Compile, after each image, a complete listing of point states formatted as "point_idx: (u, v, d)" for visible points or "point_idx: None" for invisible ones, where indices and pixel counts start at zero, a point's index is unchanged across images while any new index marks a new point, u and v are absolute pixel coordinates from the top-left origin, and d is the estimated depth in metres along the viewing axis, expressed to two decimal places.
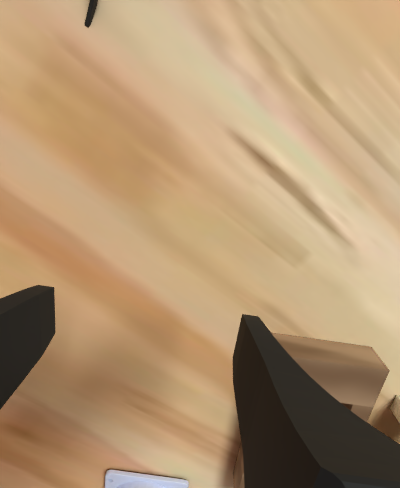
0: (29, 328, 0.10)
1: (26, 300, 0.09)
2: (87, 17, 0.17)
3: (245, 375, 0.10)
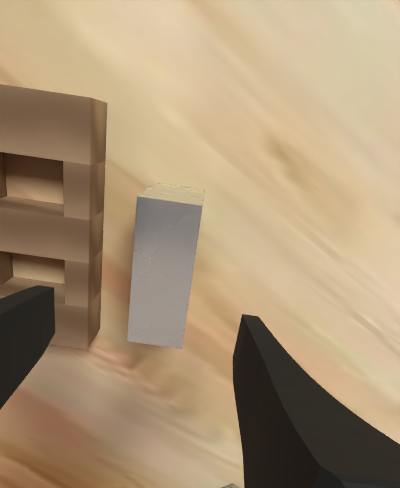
0: (29, 328, 0.10)
1: (26, 300, 0.09)
2: None
3: (244, 375, 0.10)
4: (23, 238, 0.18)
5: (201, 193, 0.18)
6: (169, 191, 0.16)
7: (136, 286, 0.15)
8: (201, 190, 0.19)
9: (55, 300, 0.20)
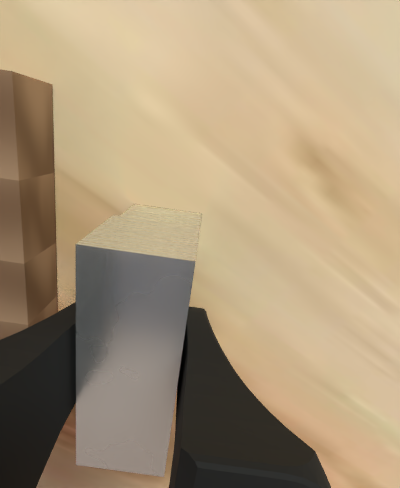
0: None
1: None
2: None
3: (181, 366, 0.10)
4: None
5: (196, 222, 0.12)
6: (142, 225, 0.10)
7: (84, 388, 0.09)
8: (196, 215, 0.13)
9: None
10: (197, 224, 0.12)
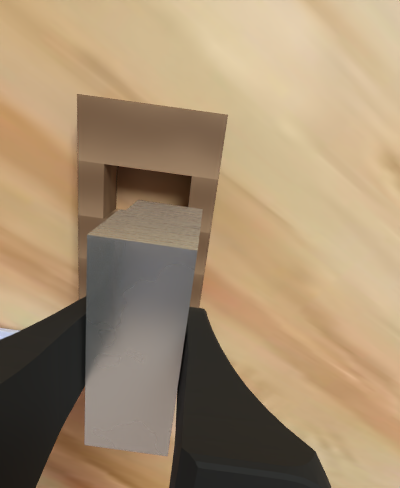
0: None
1: None
2: None
3: (182, 366, 0.10)
4: None
5: (197, 217, 0.12)
6: (147, 219, 0.10)
7: (93, 371, 0.10)
8: (198, 211, 0.13)
9: None
10: (198, 219, 0.12)
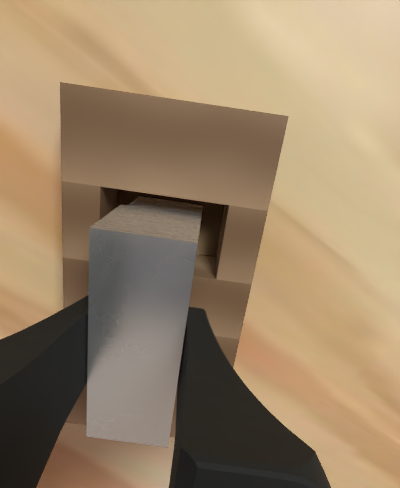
0: None
1: None
2: None
3: (181, 366, 0.10)
4: None
5: (198, 212, 0.13)
6: (148, 213, 0.10)
7: (95, 363, 0.10)
8: (198, 207, 0.14)
9: None
10: (199, 214, 0.12)
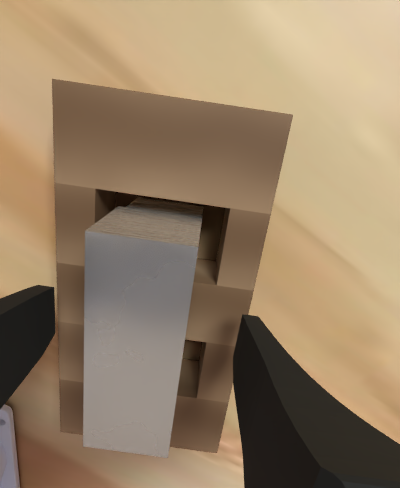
0: (29, 328, 0.10)
1: (26, 300, 0.09)
2: None
3: (245, 375, 0.10)
4: None
5: (198, 214, 0.12)
6: (147, 215, 0.10)
7: (92, 371, 0.09)
8: (198, 208, 0.13)
9: (181, 391, 0.14)
10: (199, 216, 0.12)
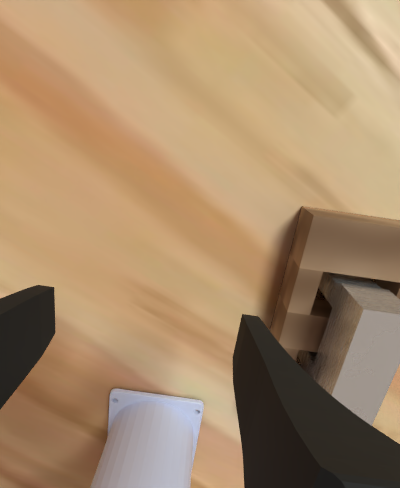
0: (29, 328, 0.10)
1: (26, 300, 0.09)
2: None
3: (244, 375, 0.10)
4: None
5: (372, 282, 0.20)
6: (365, 291, 0.18)
7: (342, 379, 0.17)
8: None
9: None
10: (375, 284, 0.20)
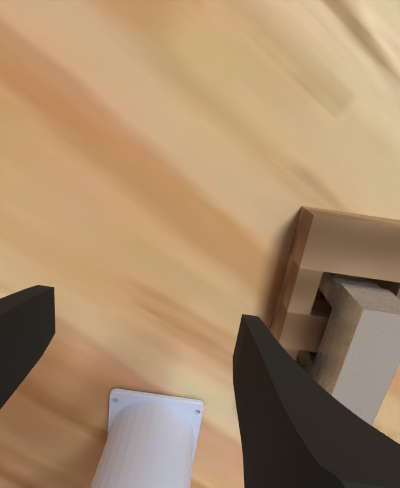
0: (29, 328, 0.10)
1: (26, 300, 0.09)
2: None
3: (245, 375, 0.10)
4: None
5: (372, 282, 0.20)
6: (365, 291, 0.18)
7: (342, 379, 0.17)
8: None
9: None
10: (375, 284, 0.20)
